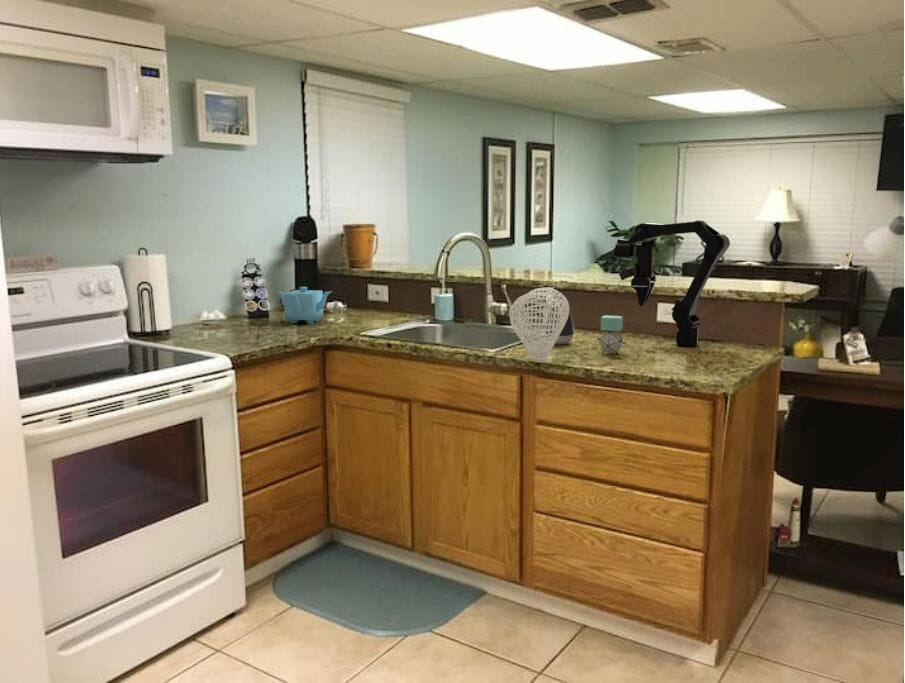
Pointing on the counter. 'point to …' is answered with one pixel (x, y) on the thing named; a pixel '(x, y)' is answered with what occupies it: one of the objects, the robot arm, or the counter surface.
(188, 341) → the counter surface
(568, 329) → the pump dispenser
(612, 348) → the game die
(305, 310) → the teakettle
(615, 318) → the teal block
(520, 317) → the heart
